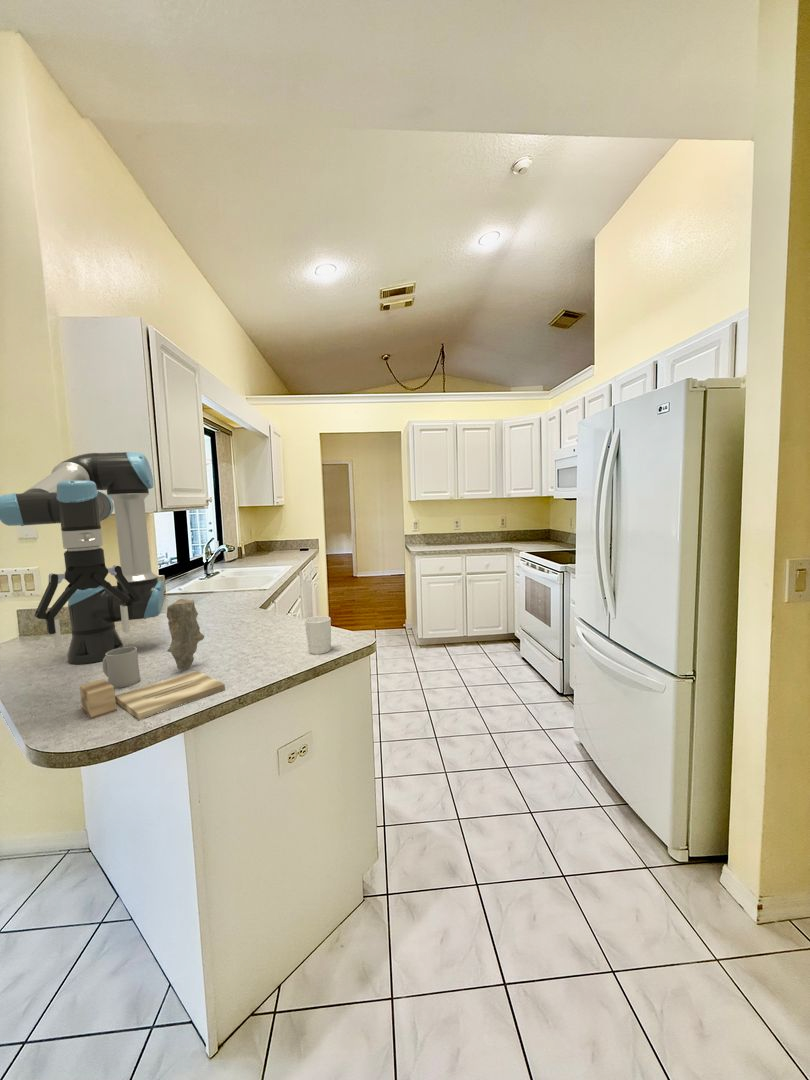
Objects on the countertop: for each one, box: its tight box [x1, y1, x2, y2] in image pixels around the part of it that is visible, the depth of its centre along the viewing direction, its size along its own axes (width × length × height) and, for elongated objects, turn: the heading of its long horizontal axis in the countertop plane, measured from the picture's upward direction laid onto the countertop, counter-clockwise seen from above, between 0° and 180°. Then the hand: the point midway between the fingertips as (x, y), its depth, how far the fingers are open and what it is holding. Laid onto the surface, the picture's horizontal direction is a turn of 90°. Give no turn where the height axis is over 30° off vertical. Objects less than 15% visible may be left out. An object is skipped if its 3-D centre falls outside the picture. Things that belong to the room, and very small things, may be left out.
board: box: [115, 670, 226, 721], centre depth 116 cm, size 16×20×2 cm
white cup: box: [304, 615, 332, 655], centre depth 145 cm, size 8×8×10 cm
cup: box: [101, 646, 141, 689], centre depth 126 cm, size 7×10×9 cm
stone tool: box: [166, 598, 205, 671], centre depth 134 cm, size 12×6×20 cm, turn 150°
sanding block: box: [79, 678, 118, 720], centre depth 110 cm, size 8×5×6 cm, turn 47°
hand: (94, 639), depth 109 cm, fingers open, 13 cm apart
